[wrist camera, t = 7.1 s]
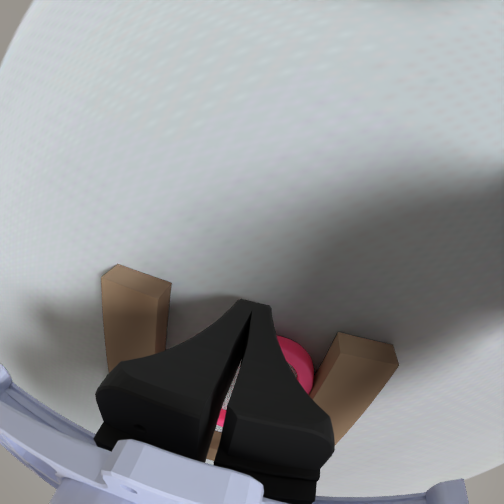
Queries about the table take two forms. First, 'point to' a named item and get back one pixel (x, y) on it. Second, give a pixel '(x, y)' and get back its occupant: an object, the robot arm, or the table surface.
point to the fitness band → (299, 362)
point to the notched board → (154, 340)
